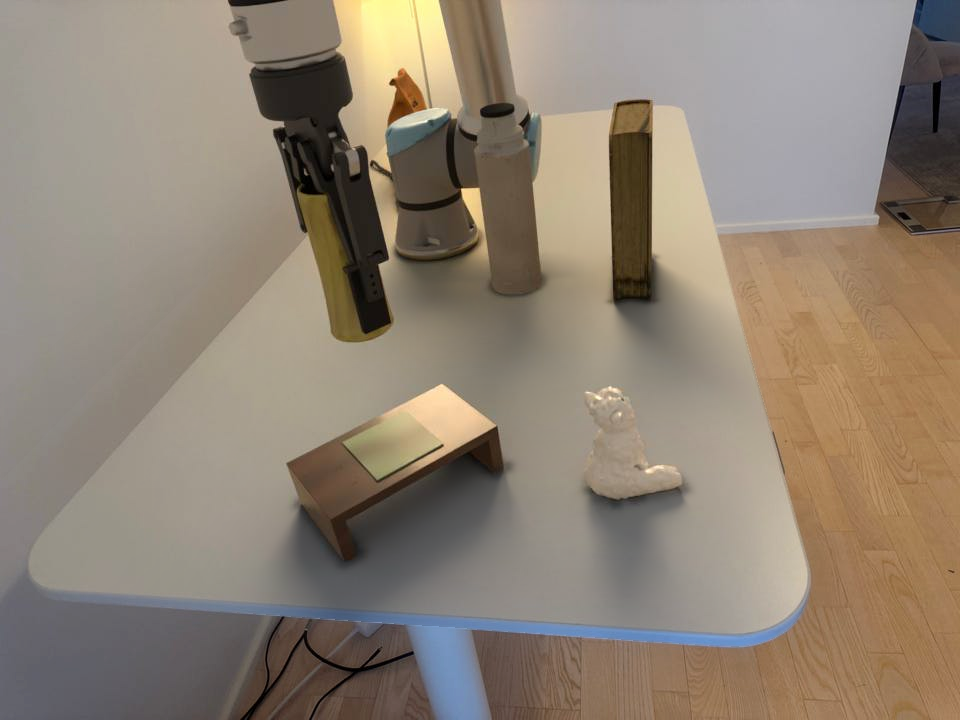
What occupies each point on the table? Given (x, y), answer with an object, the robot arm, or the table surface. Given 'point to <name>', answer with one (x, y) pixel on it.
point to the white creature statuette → (621, 451)
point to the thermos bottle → (507, 201)
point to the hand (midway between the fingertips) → (360, 314)
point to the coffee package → (405, 97)
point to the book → (631, 197)
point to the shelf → (389, 459)
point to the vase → (334, 269)
